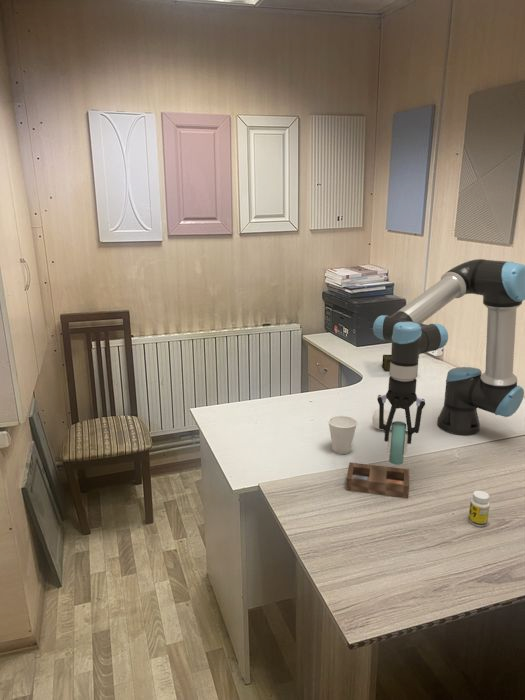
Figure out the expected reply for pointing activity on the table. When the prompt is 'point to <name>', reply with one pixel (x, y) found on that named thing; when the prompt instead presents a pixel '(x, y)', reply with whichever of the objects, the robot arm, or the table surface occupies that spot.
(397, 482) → the socket block
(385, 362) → the wooden crate
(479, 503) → the supplement bottle
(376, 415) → the beige round lump
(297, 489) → the table surface
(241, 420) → the table surface
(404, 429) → the plug
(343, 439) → the cup
